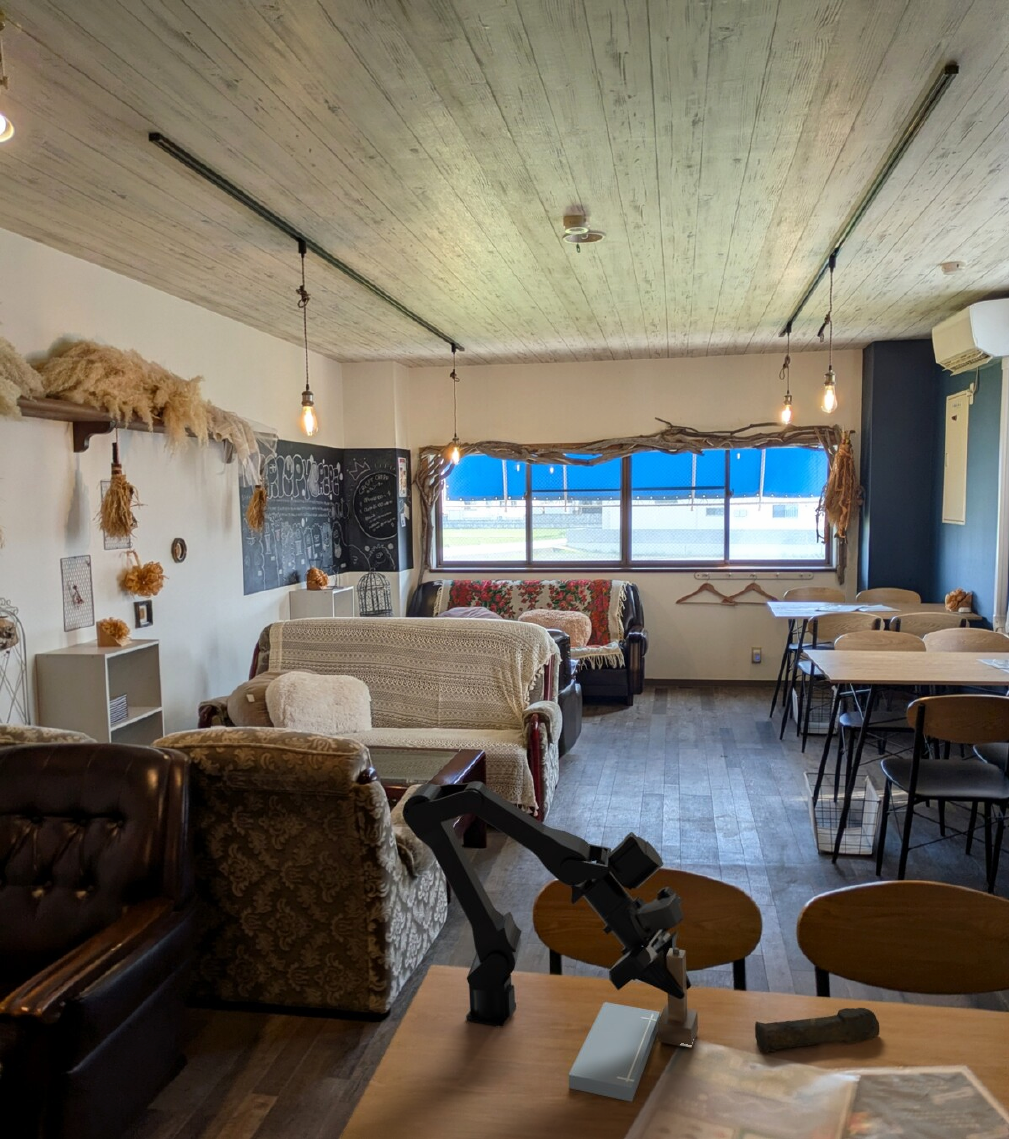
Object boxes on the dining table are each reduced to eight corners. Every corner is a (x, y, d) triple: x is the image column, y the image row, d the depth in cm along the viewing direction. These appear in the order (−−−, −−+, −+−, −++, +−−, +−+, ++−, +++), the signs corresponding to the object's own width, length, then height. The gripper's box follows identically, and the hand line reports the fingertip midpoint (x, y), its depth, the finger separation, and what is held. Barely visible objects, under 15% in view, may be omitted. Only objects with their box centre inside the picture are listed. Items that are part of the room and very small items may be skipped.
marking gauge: (658, 1041, 131) (655, 954, 130) (665, 1023, 136) (663, 938, 135) (691, 1048, 129) (689, 959, 128) (697, 1029, 134) (695, 943, 133)
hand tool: (763, 1058, 128) (762, 1028, 127) (753, 1042, 132) (753, 1012, 131) (888, 1048, 129) (887, 1018, 129) (874, 1032, 133) (874, 1003, 133)
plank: (569, 1087, 123) (568, 1073, 123) (604, 1013, 140) (604, 1001, 140) (631, 1101, 119) (631, 1087, 119) (660, 1024, 137) (659, 1011, 137)
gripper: (626, 903, 125) (703, 996, 120) (670, 856, 141) (739, 936, 136) (578, 944, 129) (651, 1035, 125) (626, 894, 146) (691, 973, 141)
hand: (686, 992), depth 132 cm, fingers closed on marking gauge, 3 cm apart
